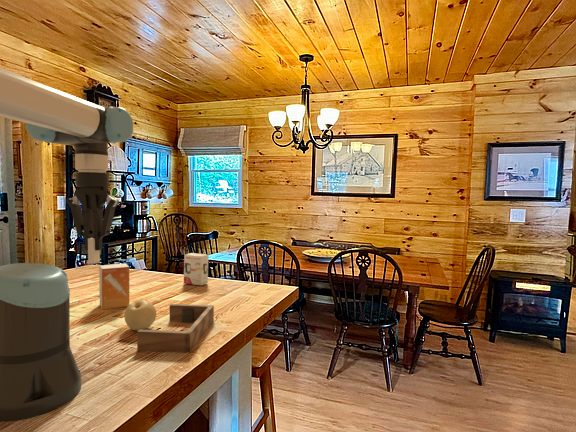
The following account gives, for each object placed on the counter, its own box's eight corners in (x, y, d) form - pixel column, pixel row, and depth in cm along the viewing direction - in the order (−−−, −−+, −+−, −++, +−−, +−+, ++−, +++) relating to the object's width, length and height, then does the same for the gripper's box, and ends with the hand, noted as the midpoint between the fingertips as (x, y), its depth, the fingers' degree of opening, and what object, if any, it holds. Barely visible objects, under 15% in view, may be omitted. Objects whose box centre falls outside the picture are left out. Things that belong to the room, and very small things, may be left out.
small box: (102, 310, 114) (101, 268, 113) (99, 305, 119) (98, 265, 119) (130, 306, 119) (129, 266, 118) (126, 301, 124) (125, 262, 123)
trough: (190, 352, 86) (189, 333, 85) (137, 350, 86) (137, 331, 86) (213, 320, 107) (213, 305, 106) (171, 319, 107) (171, 303, 107)
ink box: (183, 283, 148) (182, 254, 147) (190, 281, 153) (190, 252, 152) (201, 286, 145) (201, 256, 144) (208, 283, 150) (208, 254, 149)
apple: (125, 325, 102) (125, 298, 101) (156, 322, 105) (156, 295, 104) (123, 336, 94) (123, 306, 94) (156, 332, 97) (156, 303, 97)
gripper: (124, 173, 98) (125, 260, 100) (76, 172, 99) (78, 259, 101) (109, 171, 91) (110, 266, 93) (58, 170, 92) (60, 264, 93)
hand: (94, 262), depth 97 cm, fingers closed
